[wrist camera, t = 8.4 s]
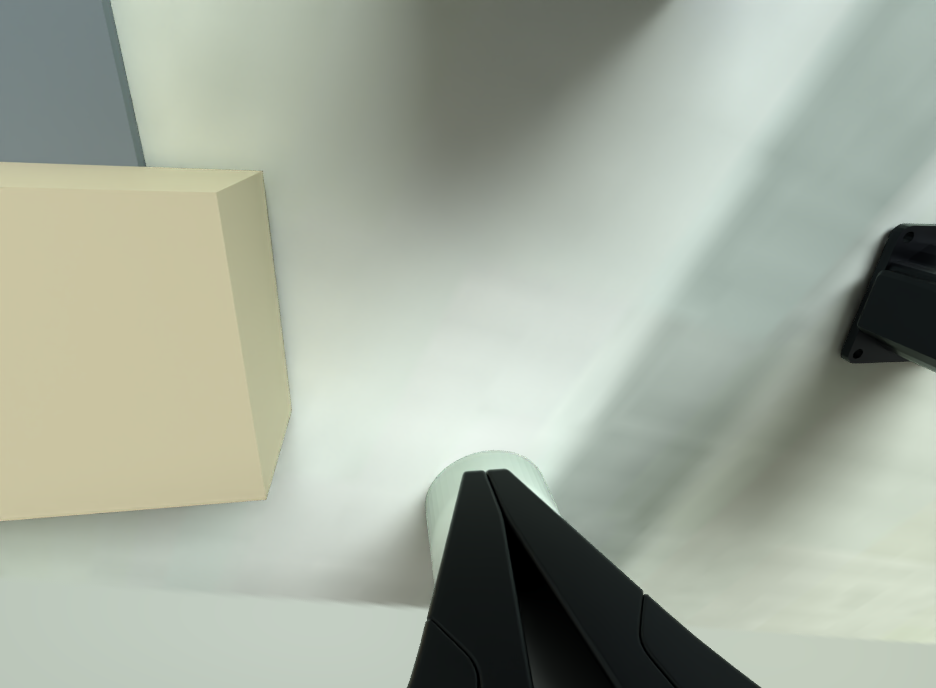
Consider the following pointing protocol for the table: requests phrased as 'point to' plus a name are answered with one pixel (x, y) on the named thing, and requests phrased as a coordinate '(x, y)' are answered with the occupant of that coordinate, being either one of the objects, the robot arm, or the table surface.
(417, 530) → the table surface
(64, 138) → the mat
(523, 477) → the white rounded cylinder
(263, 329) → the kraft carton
